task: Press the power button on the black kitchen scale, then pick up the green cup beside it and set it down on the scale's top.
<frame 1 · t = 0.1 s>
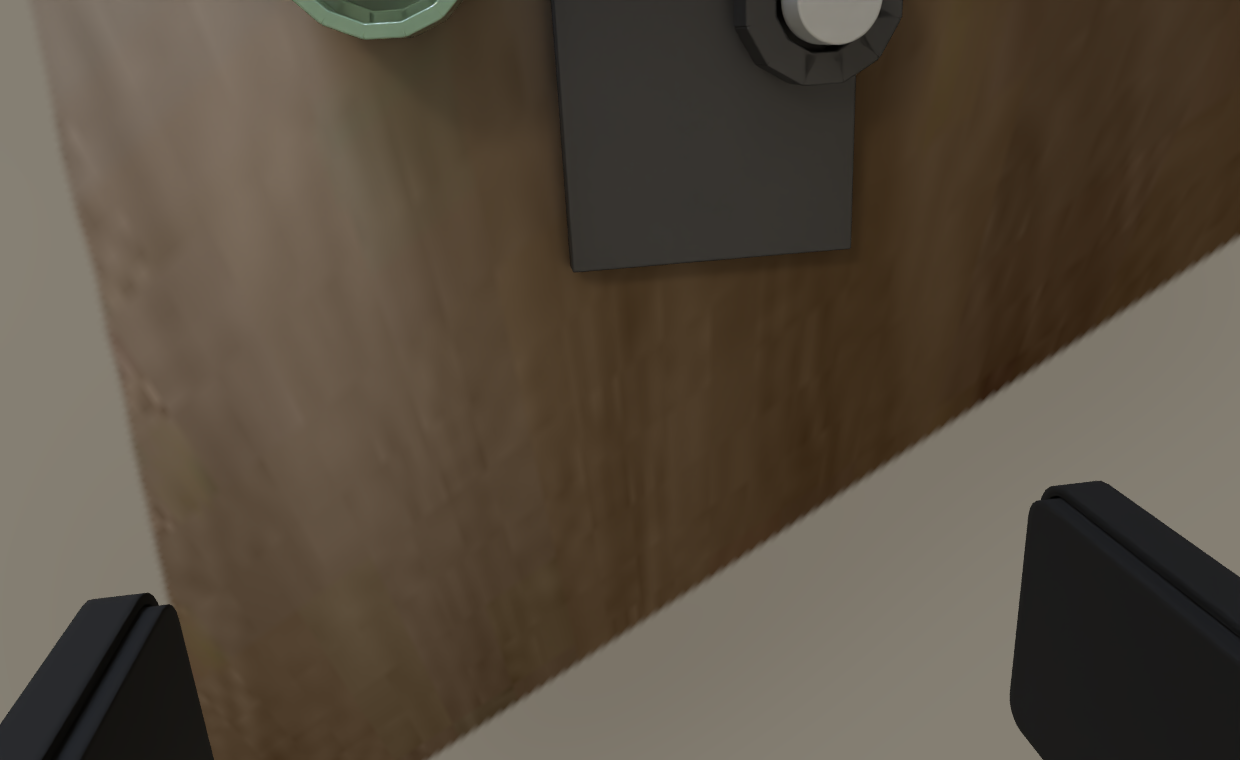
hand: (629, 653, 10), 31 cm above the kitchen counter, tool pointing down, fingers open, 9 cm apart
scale: (704, 111, 39), on the kitchen counter
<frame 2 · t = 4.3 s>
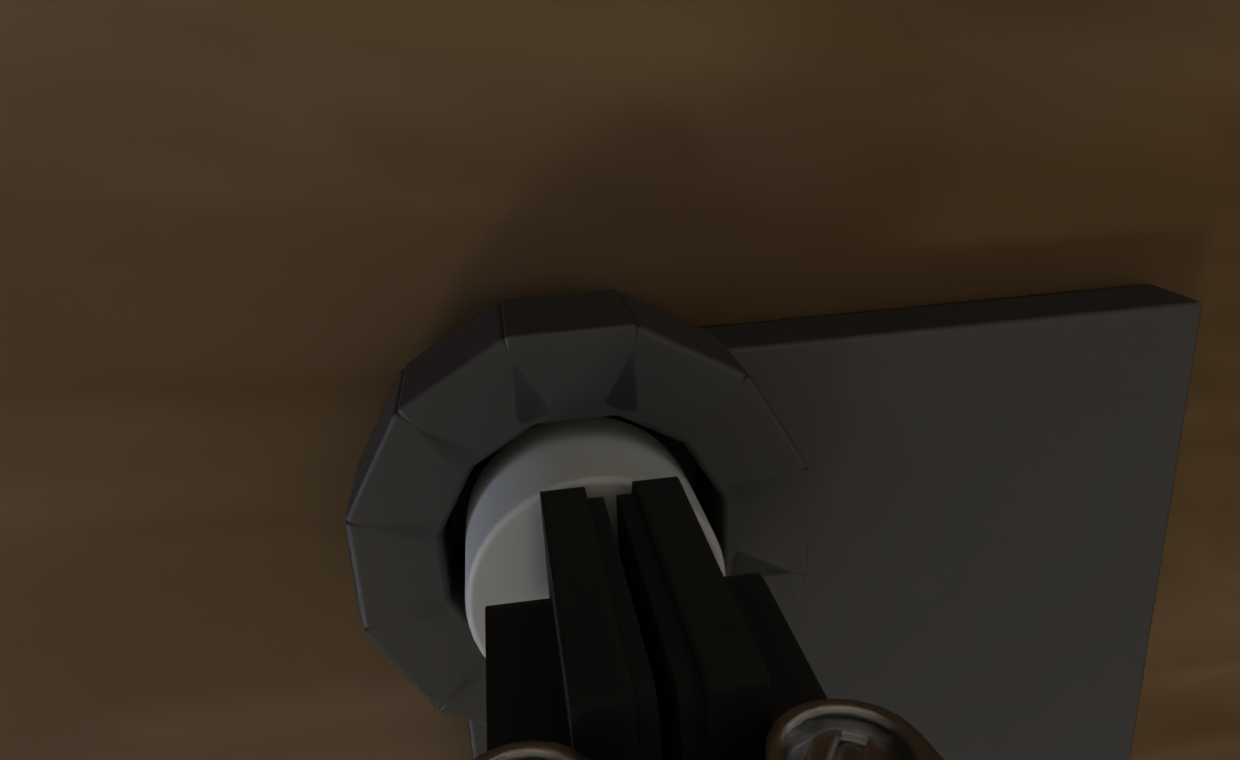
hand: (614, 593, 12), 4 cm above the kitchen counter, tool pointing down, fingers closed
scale: (802, 635, 17), on the kitchen counter
power button: (588, 555, 13), point 3 cm above the kitchen counter, slide at -0.4 cm, touching gripper
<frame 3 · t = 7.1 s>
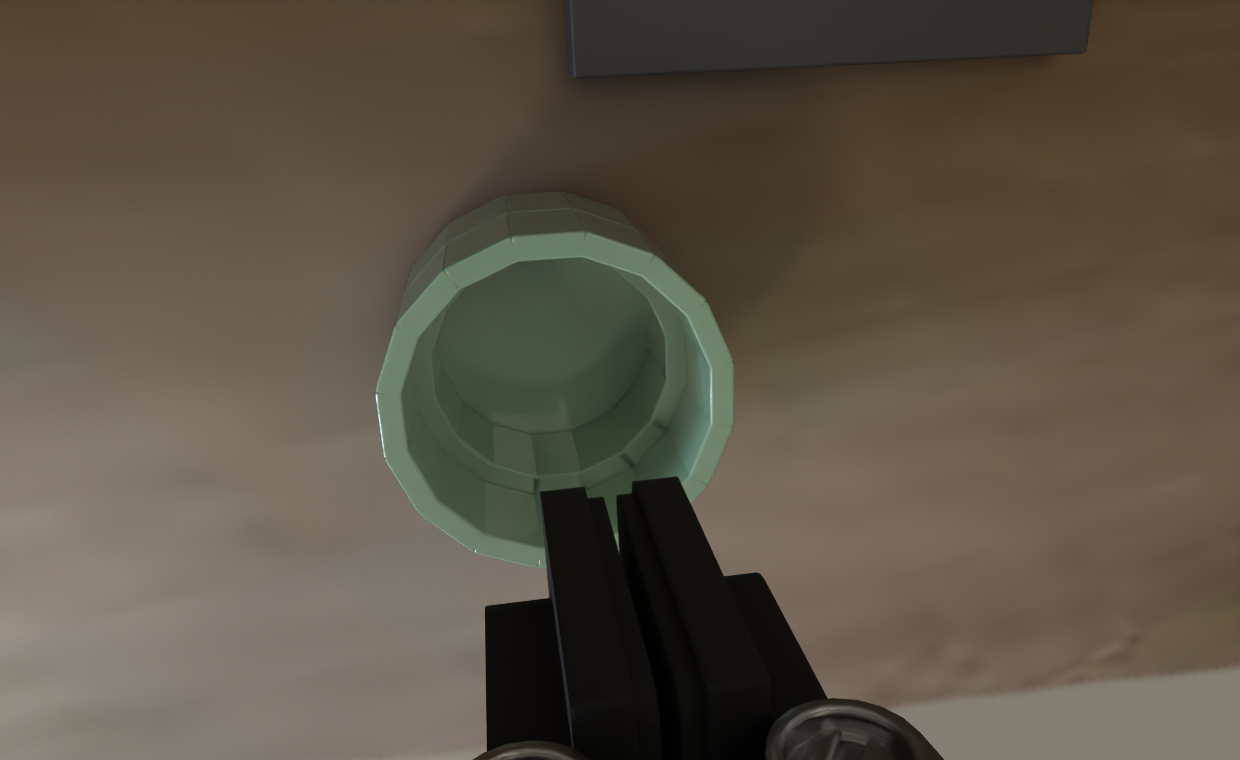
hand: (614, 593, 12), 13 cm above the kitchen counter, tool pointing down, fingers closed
green cup: (543, 330, 24), on the kitchen counter
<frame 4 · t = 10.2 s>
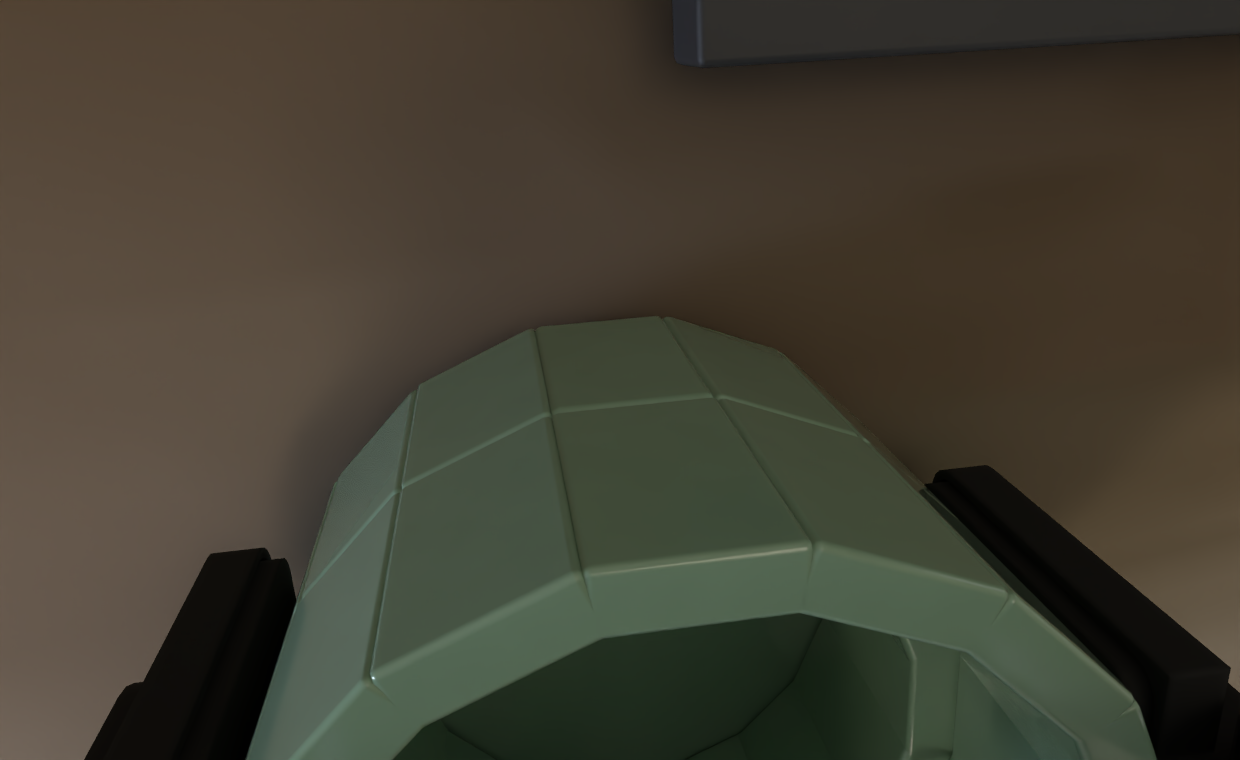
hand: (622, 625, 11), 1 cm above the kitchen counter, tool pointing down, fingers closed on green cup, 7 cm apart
green cup: (610, 579, 12), on the kitchen counter, touching gripper
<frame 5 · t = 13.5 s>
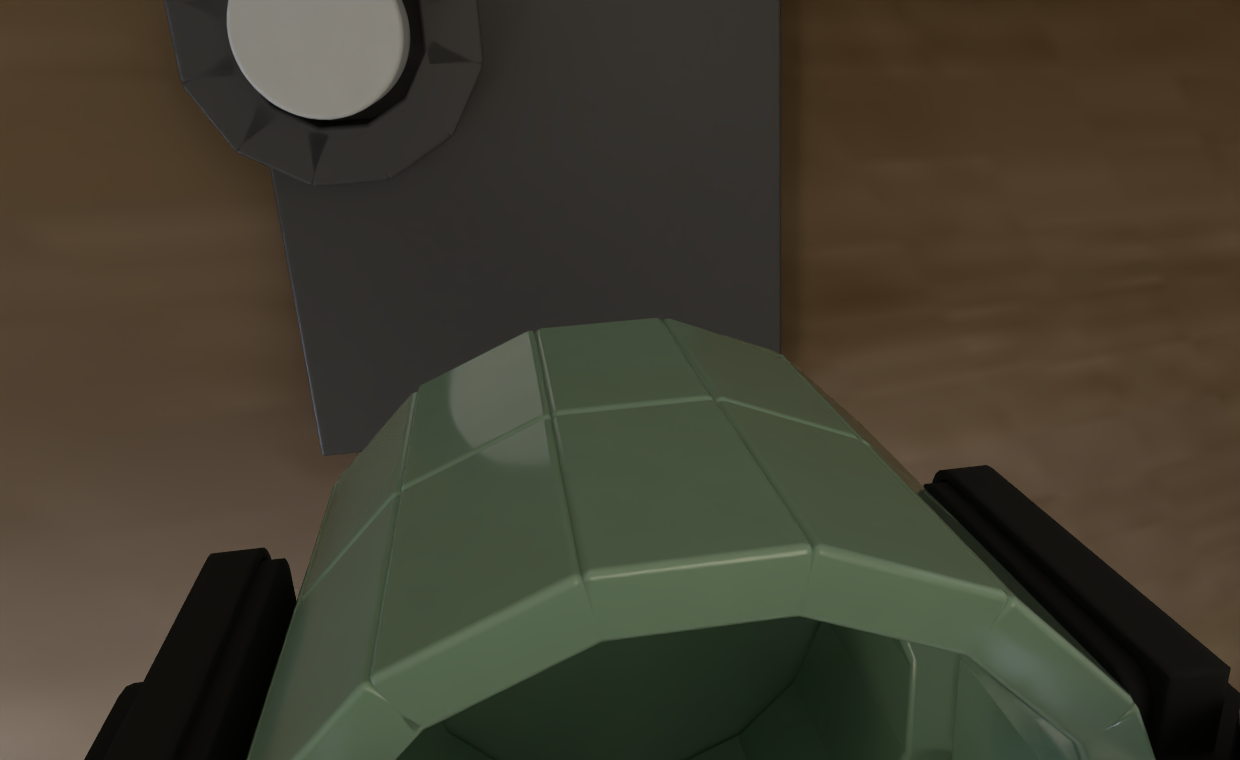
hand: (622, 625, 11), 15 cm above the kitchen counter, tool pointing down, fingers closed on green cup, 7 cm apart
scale: (534, 192, 24), on the kitchen counter
green cup: (610, 580, 12), point 14 cm above the kitchen counter, touching gripper
power button: (323, 31, 19), point 4 cm above the kitchen counter, slide at 0.1 cm
when the fingers open (2 cm above the kitchen counter, at t = 16.9 s): green cup stays where it is, resting on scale.
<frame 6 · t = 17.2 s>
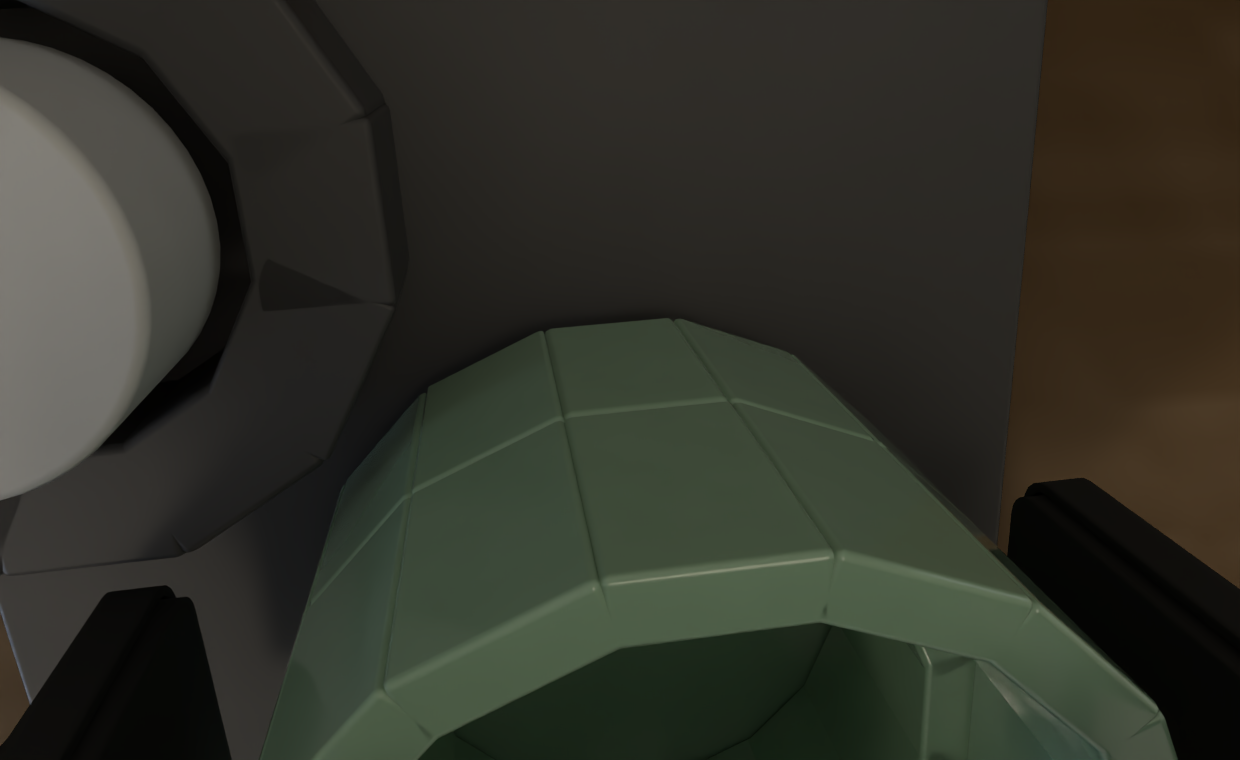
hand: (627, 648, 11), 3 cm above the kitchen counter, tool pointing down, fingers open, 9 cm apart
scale: (522, 476, 12), on the kitchen counter
green cup: (620, 583, 12), point 1 cm above the kitchen counter, touching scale
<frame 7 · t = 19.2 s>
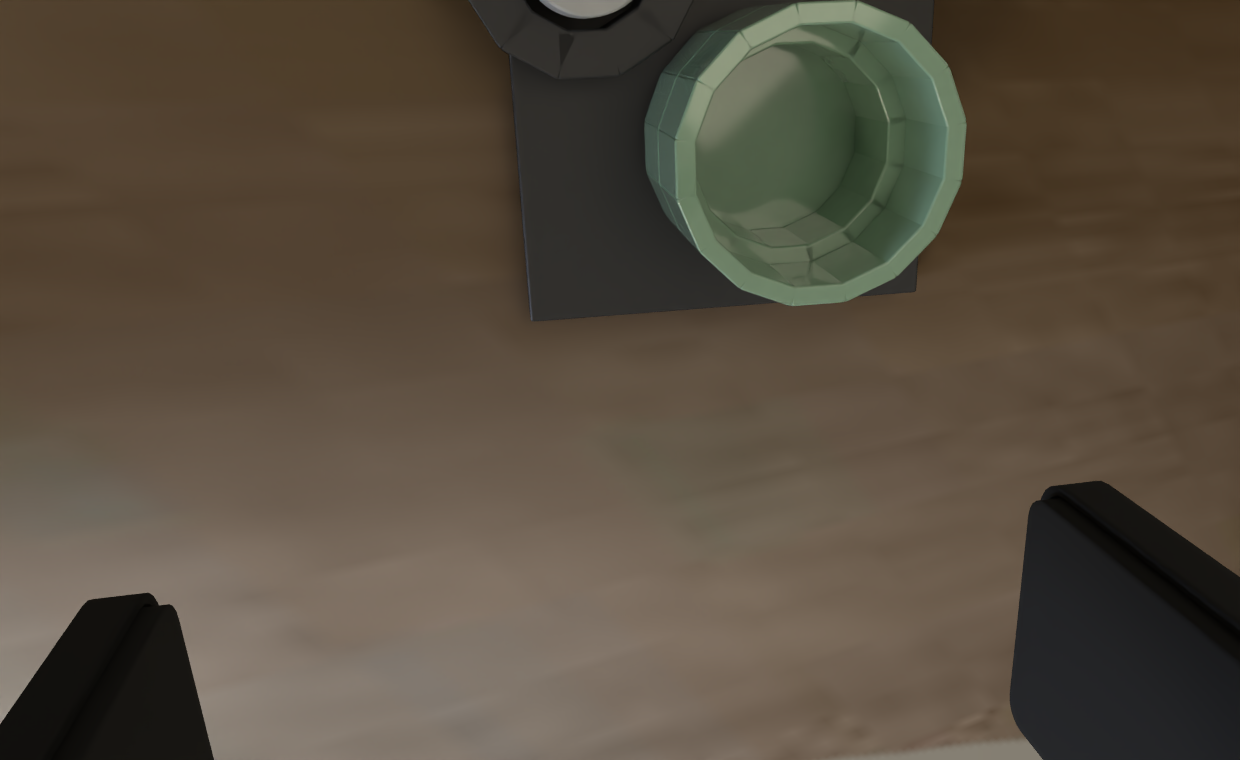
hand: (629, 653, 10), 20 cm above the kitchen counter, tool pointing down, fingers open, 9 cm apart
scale: (717, 100, 28), on the kitchen counter
green cup: (762, 137, 28), point 1 cm above the kitchen counter, touching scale
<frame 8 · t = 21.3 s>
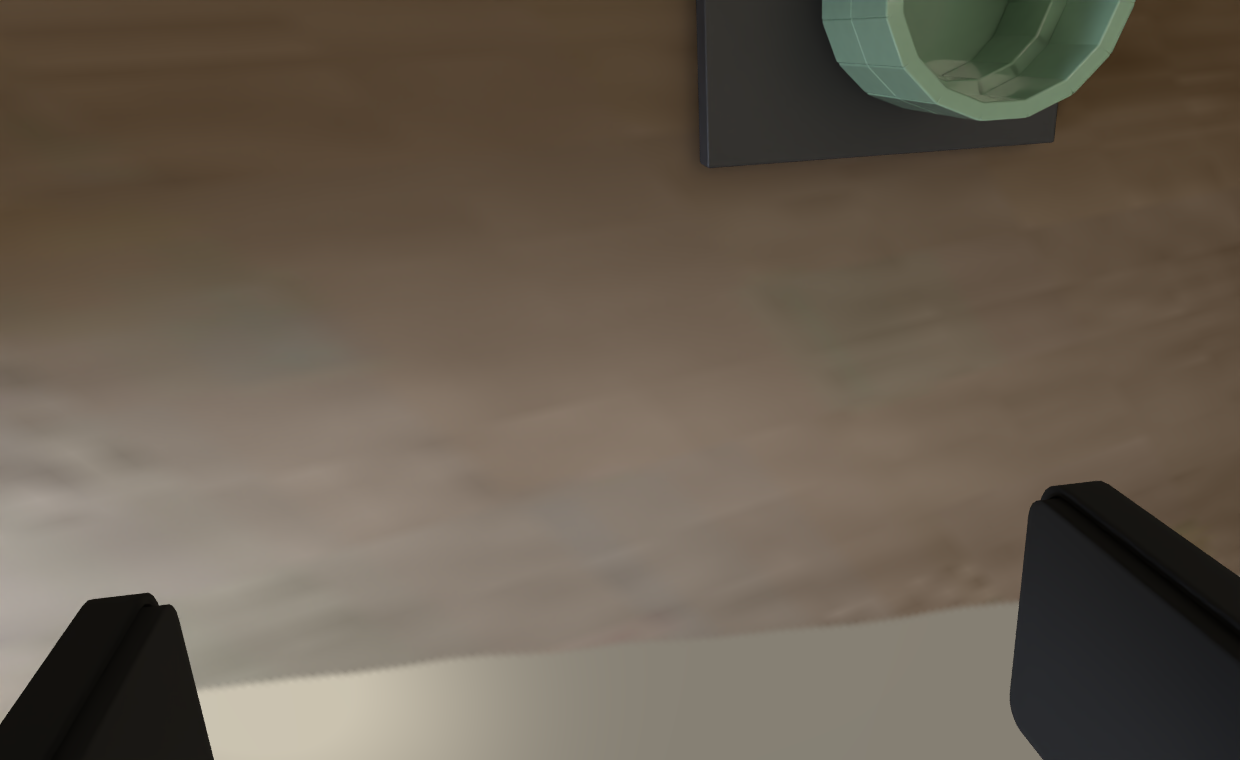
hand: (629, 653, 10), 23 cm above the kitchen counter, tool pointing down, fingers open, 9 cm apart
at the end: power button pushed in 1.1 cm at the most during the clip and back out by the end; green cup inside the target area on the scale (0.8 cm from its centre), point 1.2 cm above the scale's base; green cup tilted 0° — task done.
